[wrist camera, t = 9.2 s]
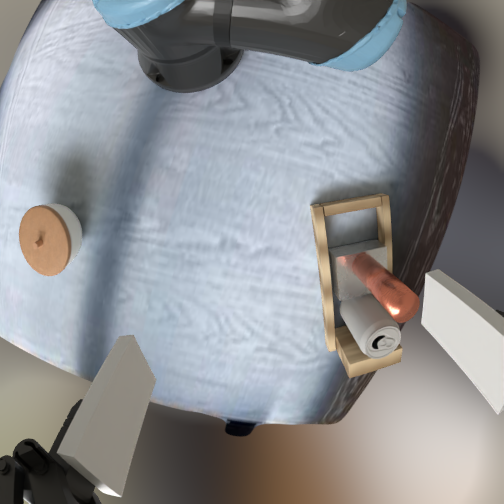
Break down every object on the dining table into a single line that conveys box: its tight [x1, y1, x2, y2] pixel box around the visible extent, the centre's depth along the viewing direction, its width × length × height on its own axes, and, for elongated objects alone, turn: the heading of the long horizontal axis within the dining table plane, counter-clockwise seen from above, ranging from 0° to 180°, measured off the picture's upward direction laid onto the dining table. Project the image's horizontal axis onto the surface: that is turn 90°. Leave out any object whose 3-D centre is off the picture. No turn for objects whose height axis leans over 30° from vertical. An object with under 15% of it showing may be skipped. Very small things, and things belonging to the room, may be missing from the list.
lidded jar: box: [19, 203, 82, 276], centre depth 36 cm, size 11×11×9 cm
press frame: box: [310, 193, 402, 378], centre depth 39 cm, size 25×12×10 cm, turn 11°
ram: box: [328, 239, 420, 323], centre depth 35 cm, size 7×8×17 cm
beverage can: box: [340, 293, 401, 359], centre depth 40 cm, size 6×6×12 cm
